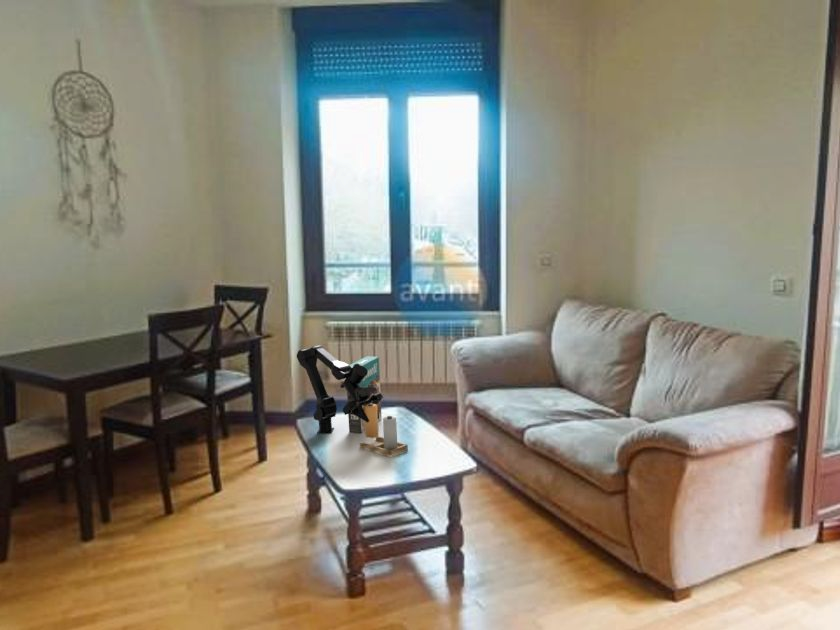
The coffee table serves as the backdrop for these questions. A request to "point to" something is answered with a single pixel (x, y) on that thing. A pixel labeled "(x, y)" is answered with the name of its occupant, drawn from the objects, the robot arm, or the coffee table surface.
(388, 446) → the grey bottle
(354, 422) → the cake mix box
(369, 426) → the orange bottle
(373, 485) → the coffee table surface
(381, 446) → the slot rack
